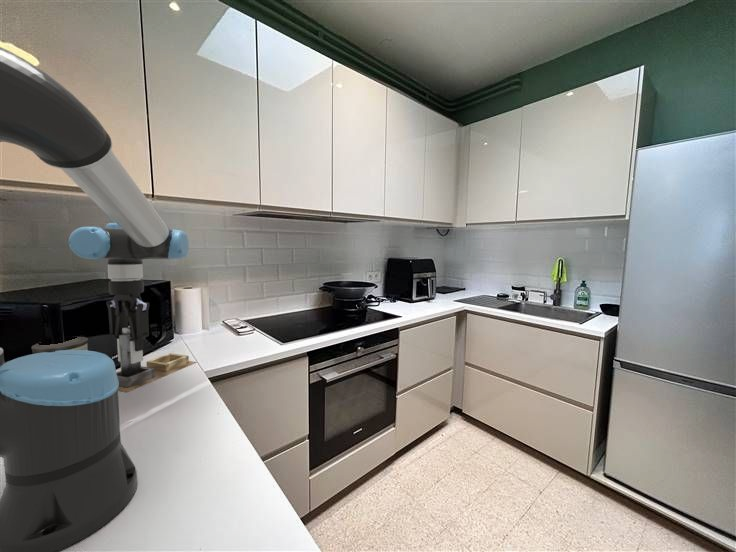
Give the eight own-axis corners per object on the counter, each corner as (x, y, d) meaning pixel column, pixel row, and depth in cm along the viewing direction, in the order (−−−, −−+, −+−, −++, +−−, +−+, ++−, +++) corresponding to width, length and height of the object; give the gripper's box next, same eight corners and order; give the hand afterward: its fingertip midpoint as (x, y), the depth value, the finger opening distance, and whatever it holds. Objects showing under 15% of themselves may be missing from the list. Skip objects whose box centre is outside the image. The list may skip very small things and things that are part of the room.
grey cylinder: (128, 379, 80) (126, 329, 78) (117, 377, 81) (114, 328, 80) (145, 372, 84) (142, 325, 83) (134, 371, 85) (131, 324, 84)
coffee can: (25, 405, 71) (20, 350, 70) (50, 387, 81) (47, 338, 80) (79, 397, 76) (75, 345, 74) (97, 381, 85) (94, 335, 84)
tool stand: (126, 397, 76) (126, 383, 75) (95, 391, 79) (94, 377, 79) (197, 366, 97) (197, 354, 96) (170, 362, 100) (170, 351, 100)
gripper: (162, 279, 81) (166, 359, 83) (119, 277, 86) (123, 353, 88) (134, 281, 74) (139, 369, 76) (88, 279, 79) (94, 362, 81)
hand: (130, 360), depth 82 cm, fingers closed on grey cylinder, 4 cm apart
